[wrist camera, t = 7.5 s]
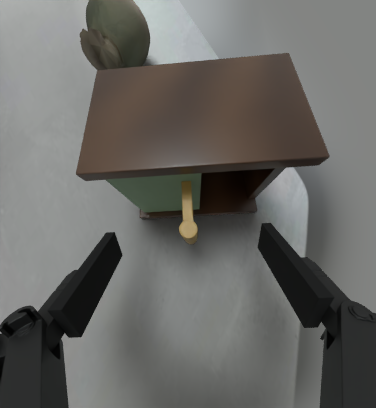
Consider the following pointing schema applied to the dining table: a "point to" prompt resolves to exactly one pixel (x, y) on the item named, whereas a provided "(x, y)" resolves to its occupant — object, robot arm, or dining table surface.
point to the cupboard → (202, 128)
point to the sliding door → (165, 197)
